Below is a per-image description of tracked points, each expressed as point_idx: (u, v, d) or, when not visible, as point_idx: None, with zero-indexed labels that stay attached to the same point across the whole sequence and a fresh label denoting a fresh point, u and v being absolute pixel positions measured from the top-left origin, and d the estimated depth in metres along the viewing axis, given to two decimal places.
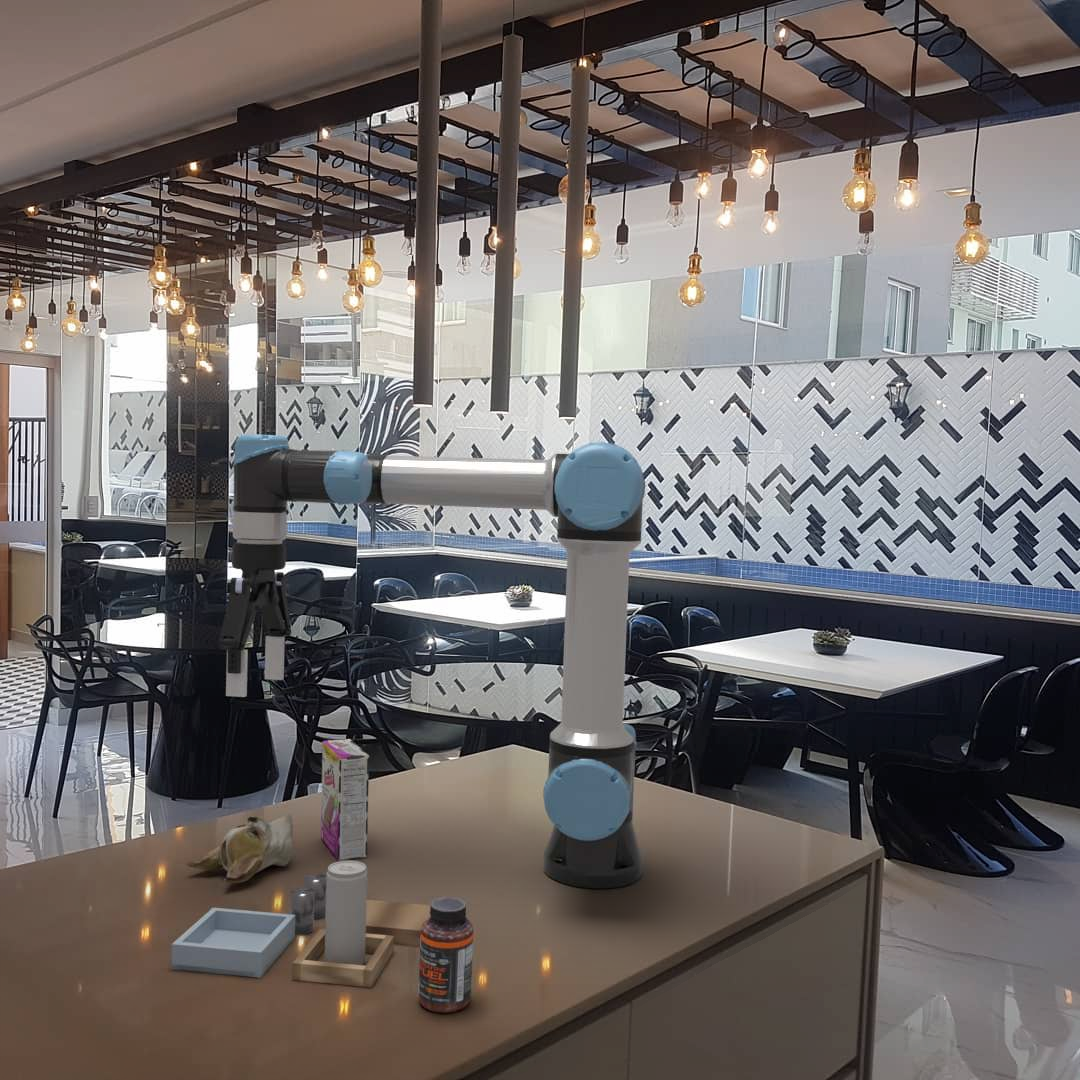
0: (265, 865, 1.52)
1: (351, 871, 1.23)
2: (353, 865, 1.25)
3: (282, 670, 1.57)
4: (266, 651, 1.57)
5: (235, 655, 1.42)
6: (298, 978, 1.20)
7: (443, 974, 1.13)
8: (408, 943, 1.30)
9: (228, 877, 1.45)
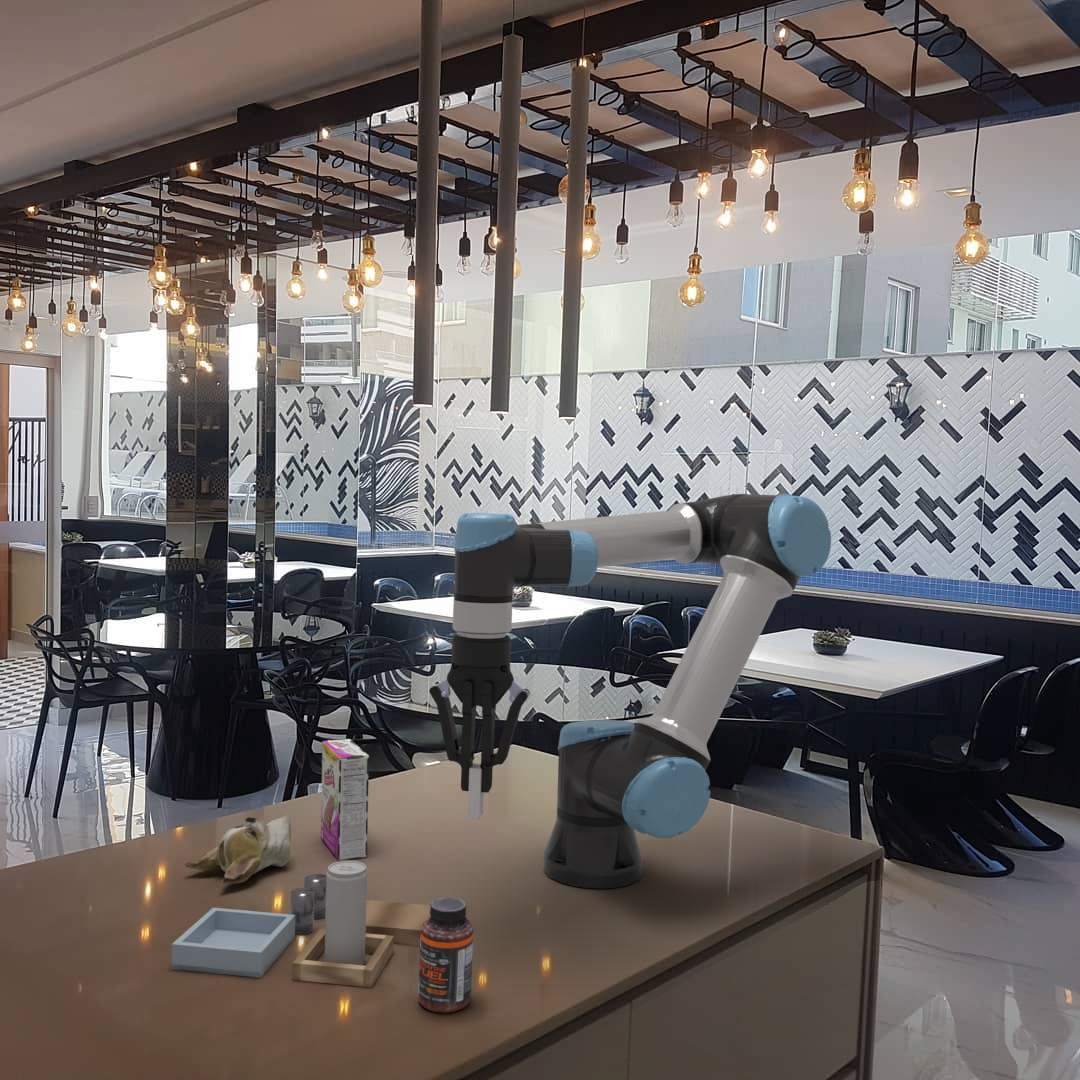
0: (263, 866, 1.51)
1: (351, 871, 1.23)
2: (353, 865, 1.25)
3: (475, 808, 1.31)
4: None
5: None
6: (298, 978, 1.20)
7: (443, 974, 1.13)
8: (408, 943, 1.30)
9: (226, 878, 1.45)
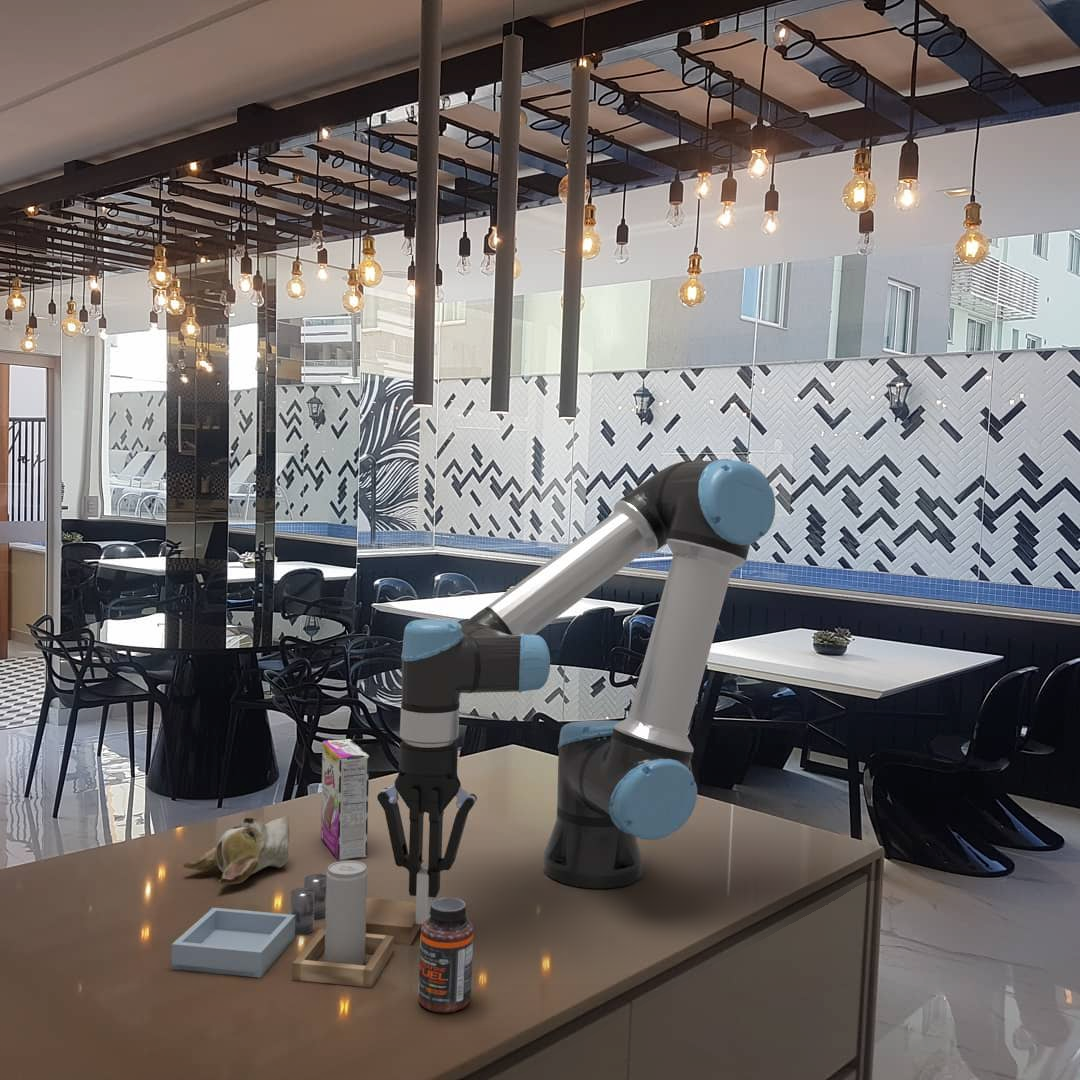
0: (261, 866, 1.51)
1: (351, 871, 1.23)
2: (353, 865, 1.25)
3: (423, 913, 1.33)
4: None
5: None
6: (298, 978, 1.20)
7: (443, 974, 1.13)
8: (395, 939, 1.31)
9: (223, 878, 1.44)
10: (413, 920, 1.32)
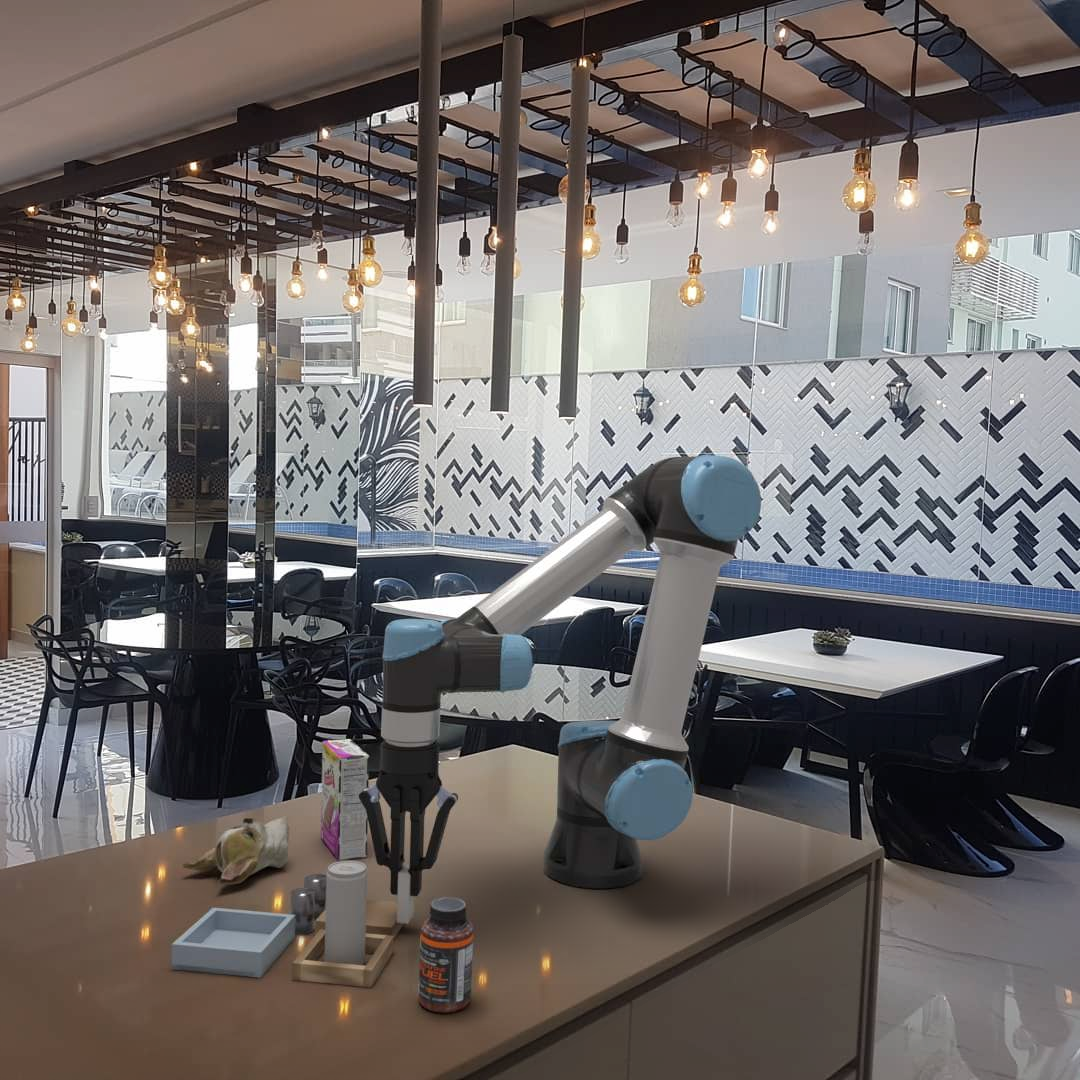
0: (260, 867, 1.51)
1: (351, 871, 1.23)
2: (353, 865, 1.25)
3: (404, 912, 1.33)
4: None
5: (391, 874, 1.34)
6: (298, 978, 1.20)
7: (443, 974, 1.13)
8: None
9: (222, 879, 1.44)
10: (394, 920, 1.33)
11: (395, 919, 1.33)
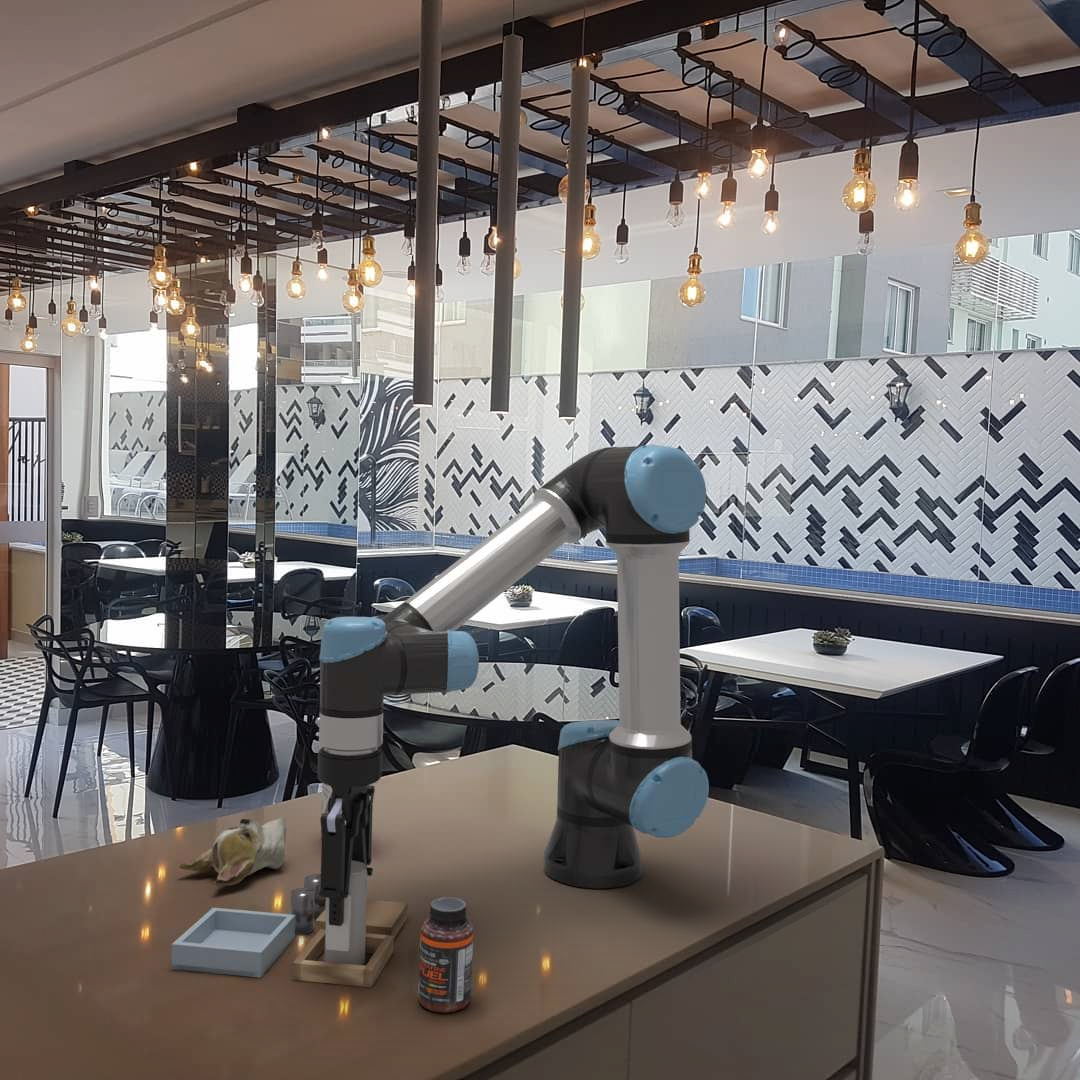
0: (257, 868, 1.50)
1: (351, 871, 1.23)
2: (353, 865, 1.25)
3: None
4: None
5: (338, 904, 1.19)
6: (298, 978, 1.20)
7: (443, 974, 1.13)
8: None
9: (218, 879, 1.44)
10: (394, 920, 1.33)
11: (395, 919, 1.33)
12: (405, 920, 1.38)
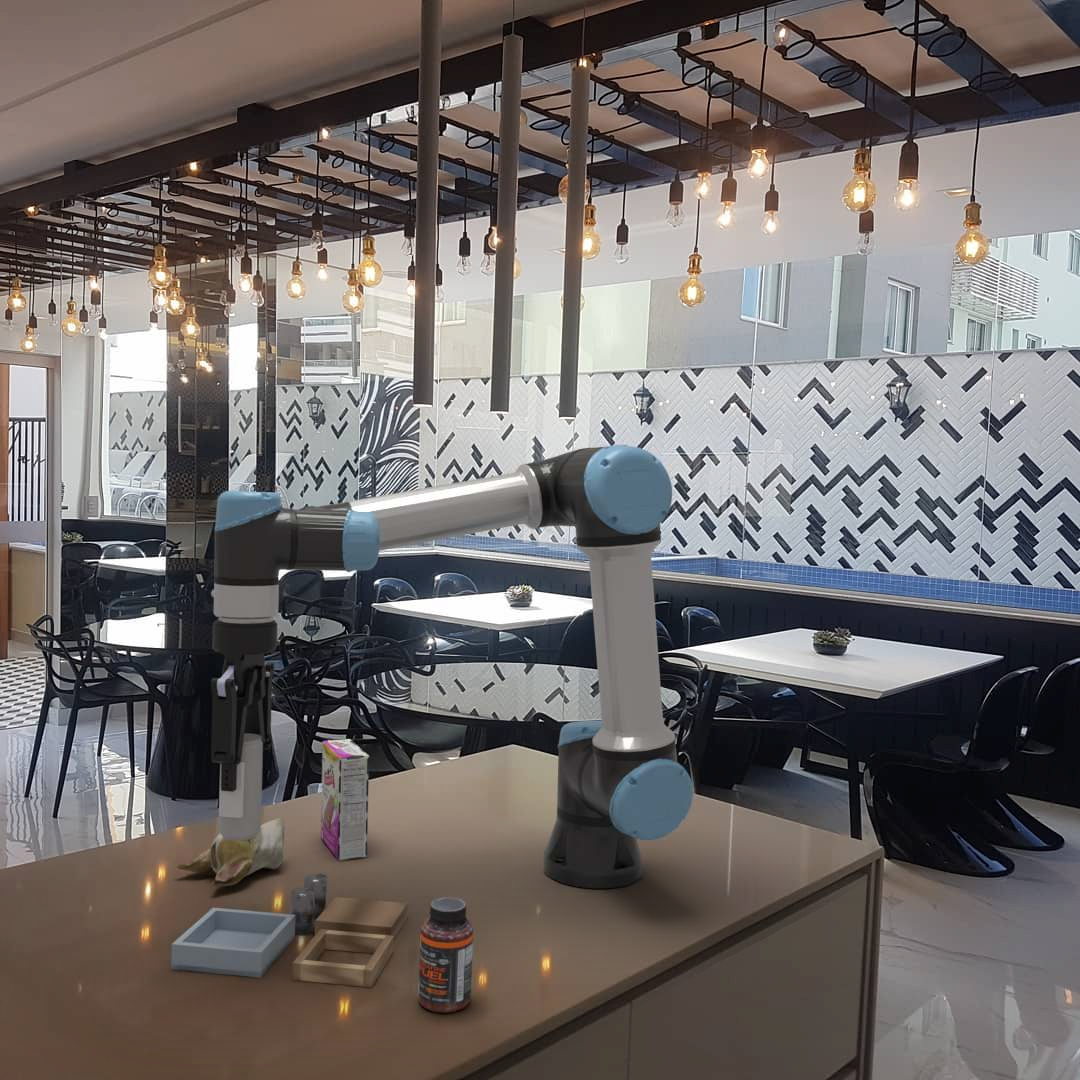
0: (255, 868, 1.50)
1: (246, 740, 1.24)
2: (249, 736, 1.26)
3: None
4: None
5: (230, 770, 1.21)
6: (298, 978, 1.20)
7: (443, 974, 1.13)
8: None
9: (216, 880, 1.44)
10: (394, 920, 1.33)
11: (395, 919, 1.33)
12: (405, 920, 1.38)
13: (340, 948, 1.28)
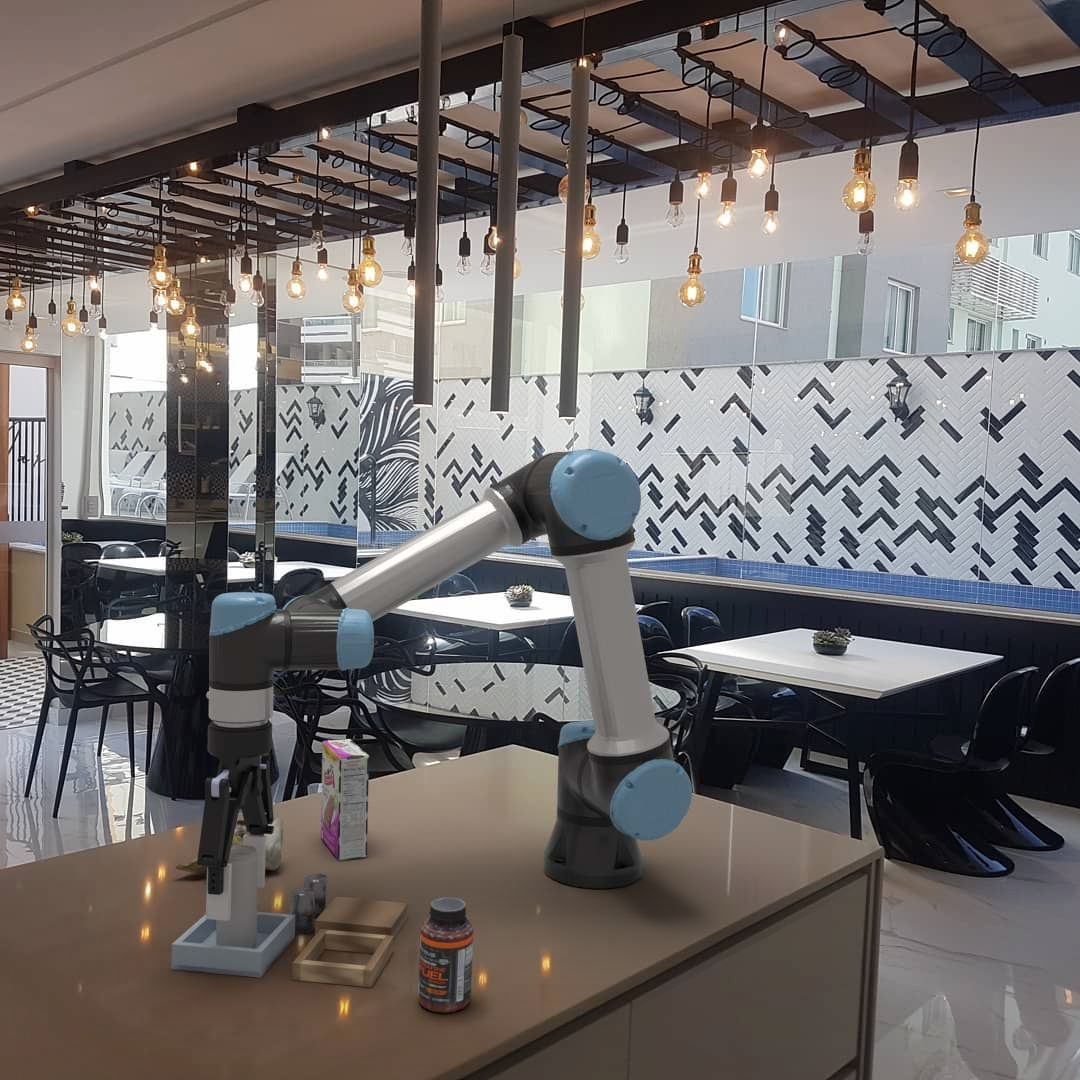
0: None
1: (241, 855, 1.25)
2: (244, 849, 1.27)
3: (263, 876, 1.31)
4: None
5: (217, 873, 1.19)
6: (298, 978, 1.20)
7: (443, 974, 1.13)
8: None
9: None
10: (394, 921, 1.33)
11: (395, 919, 1.33)
12: (405, 920, 1.38)
13: (340, 948, 1.28)
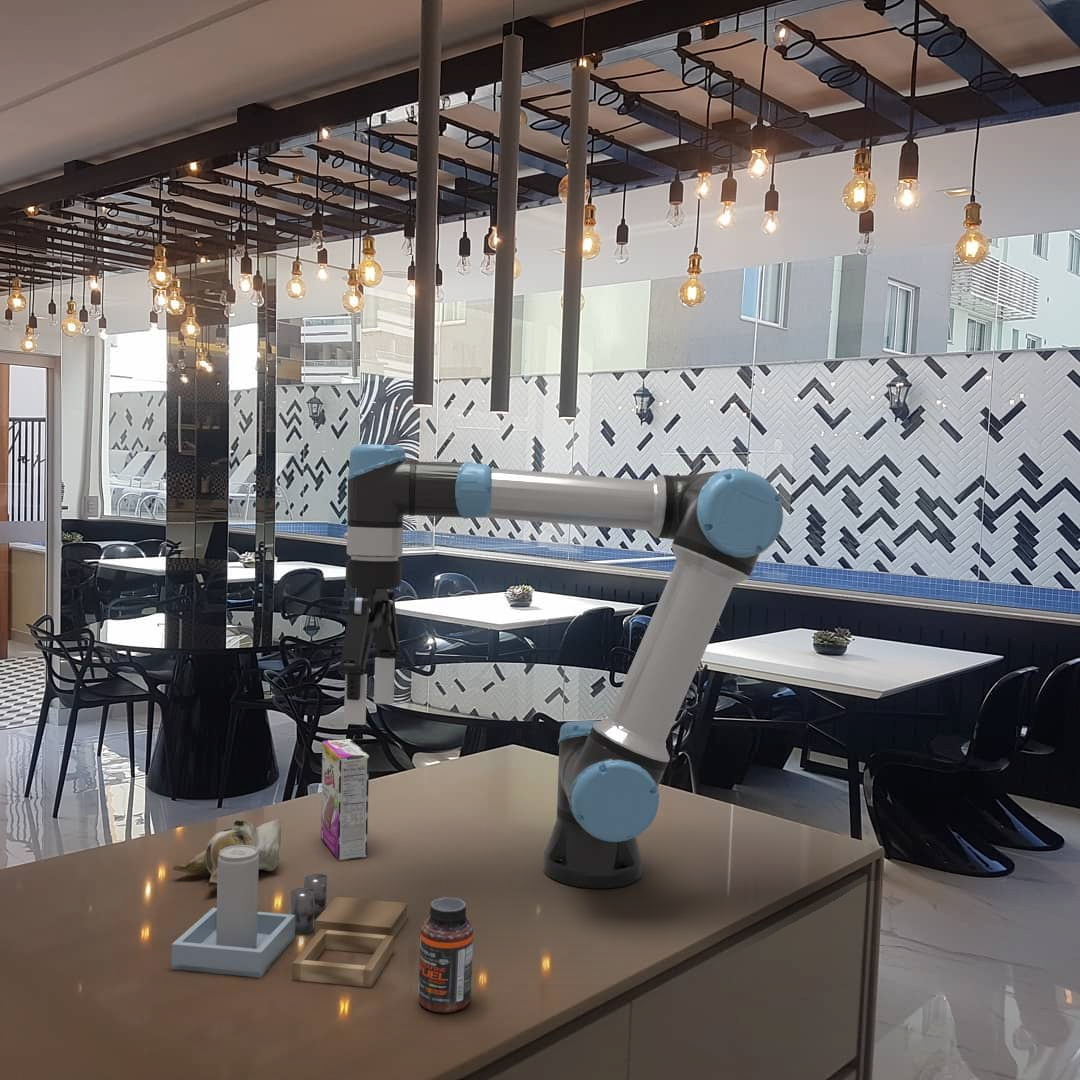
0: None
1: (242, 855, 1.25)
2: (245, 849, 1.27)
3: (392, 694, 1.48)
4: (375, 673, 1.48)
5: (355, 680, 1.33)
6: (298, 978, 1.20)
7: (443, 974, 1.13)
8: None
9: (210, 882, 1.43)
10: (393, 920, 1.33)
11: (394, 919, 1.33)
12: (405, 920, 1.38)
13: (340, 948, 1.28)
